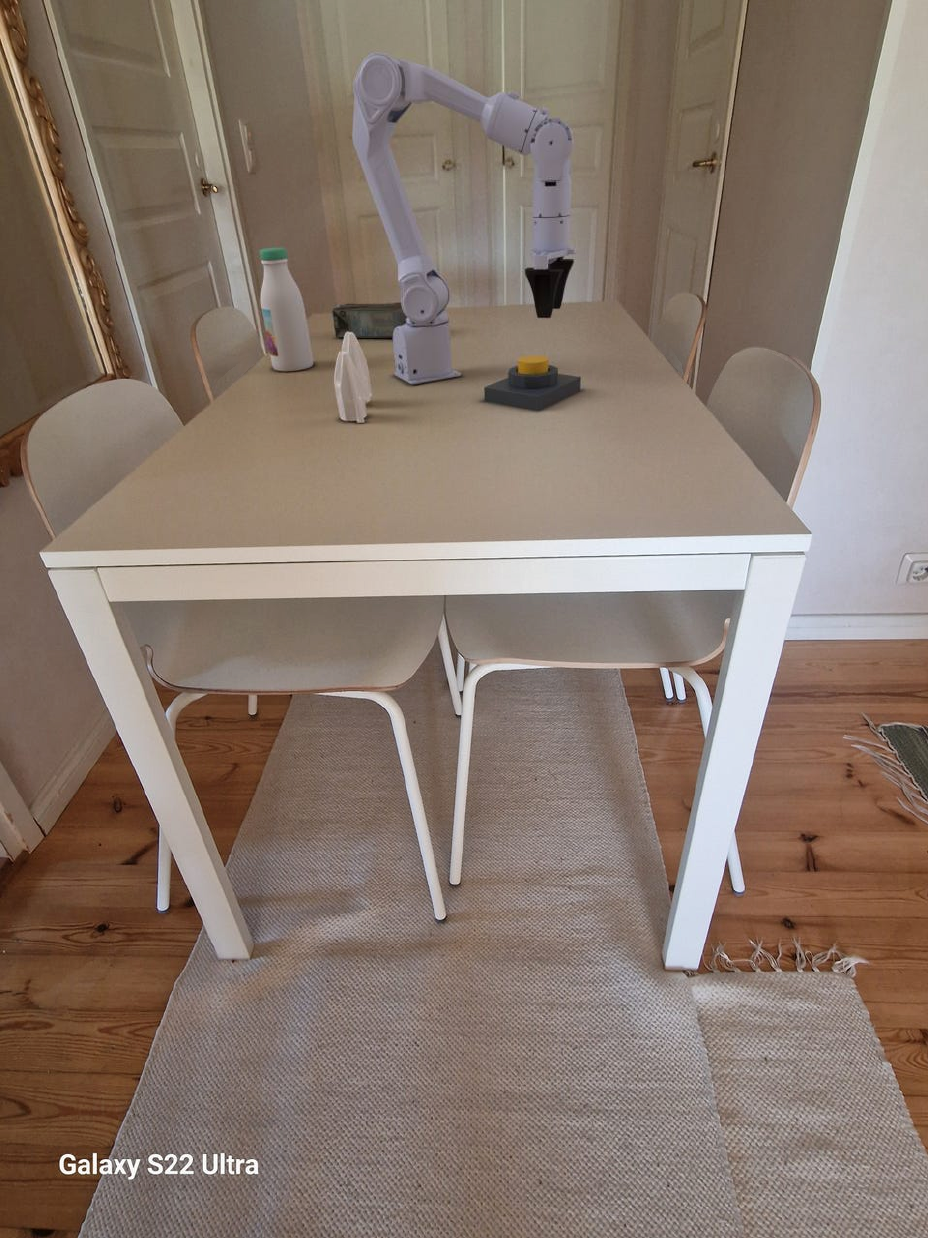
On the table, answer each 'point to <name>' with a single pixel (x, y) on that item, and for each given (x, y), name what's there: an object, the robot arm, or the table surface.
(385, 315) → the beverage carton
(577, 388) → the grey button base
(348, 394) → the white pointed piece
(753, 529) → the table surface
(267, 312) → the milk bottle
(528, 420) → the table surface
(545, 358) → the button
